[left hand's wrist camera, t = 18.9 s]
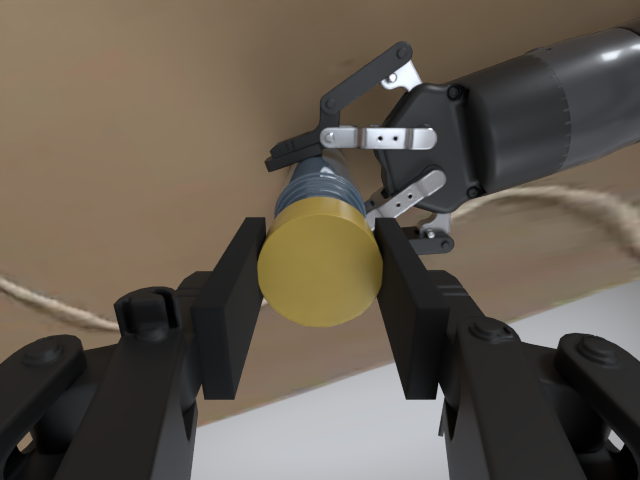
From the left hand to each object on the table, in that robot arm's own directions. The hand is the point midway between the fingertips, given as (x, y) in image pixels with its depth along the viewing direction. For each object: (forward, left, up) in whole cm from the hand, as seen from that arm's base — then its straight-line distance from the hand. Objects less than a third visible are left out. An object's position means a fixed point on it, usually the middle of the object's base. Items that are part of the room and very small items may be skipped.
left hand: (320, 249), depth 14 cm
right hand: (-3, 0, -10) cm, 11 cm away
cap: (0, 0, +2) cm, 2 cm away
